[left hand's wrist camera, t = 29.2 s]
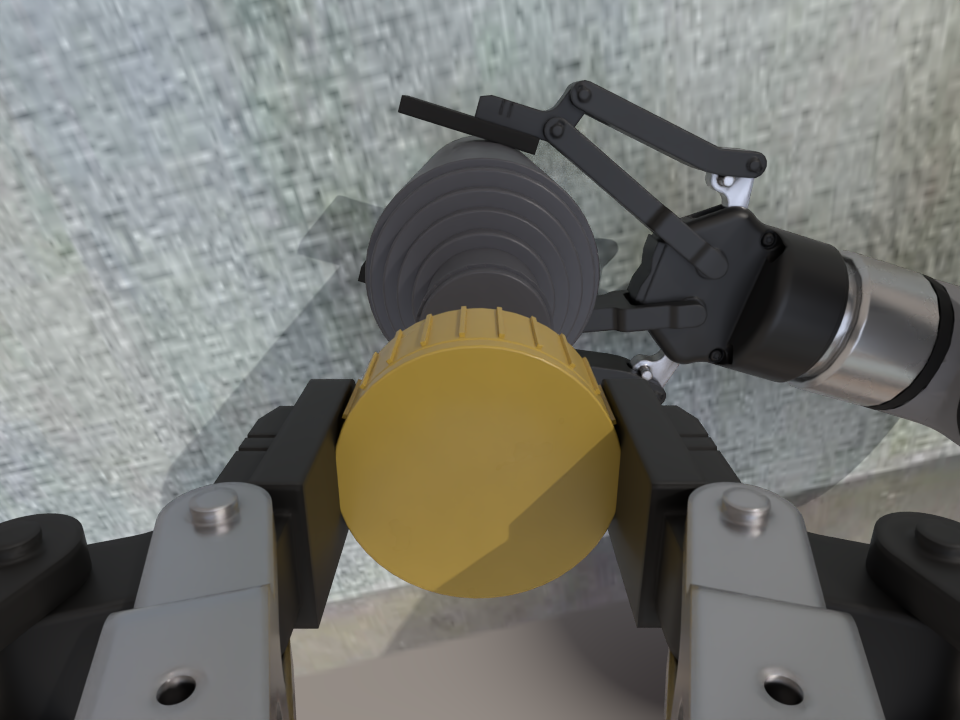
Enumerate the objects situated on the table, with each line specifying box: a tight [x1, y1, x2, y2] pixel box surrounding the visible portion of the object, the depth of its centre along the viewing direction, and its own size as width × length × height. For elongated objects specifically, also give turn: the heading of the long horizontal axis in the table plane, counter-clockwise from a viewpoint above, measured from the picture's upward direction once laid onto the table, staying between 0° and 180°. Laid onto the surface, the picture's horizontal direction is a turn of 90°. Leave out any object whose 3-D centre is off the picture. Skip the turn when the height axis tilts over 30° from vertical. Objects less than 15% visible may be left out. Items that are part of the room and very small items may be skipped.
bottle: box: [365, 136, 599, 346], centre depth 28 cm, size 7×7×25 cm
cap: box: [335, 306, 621, 598], centre depth 11 cm, size 4×4×2 cm
